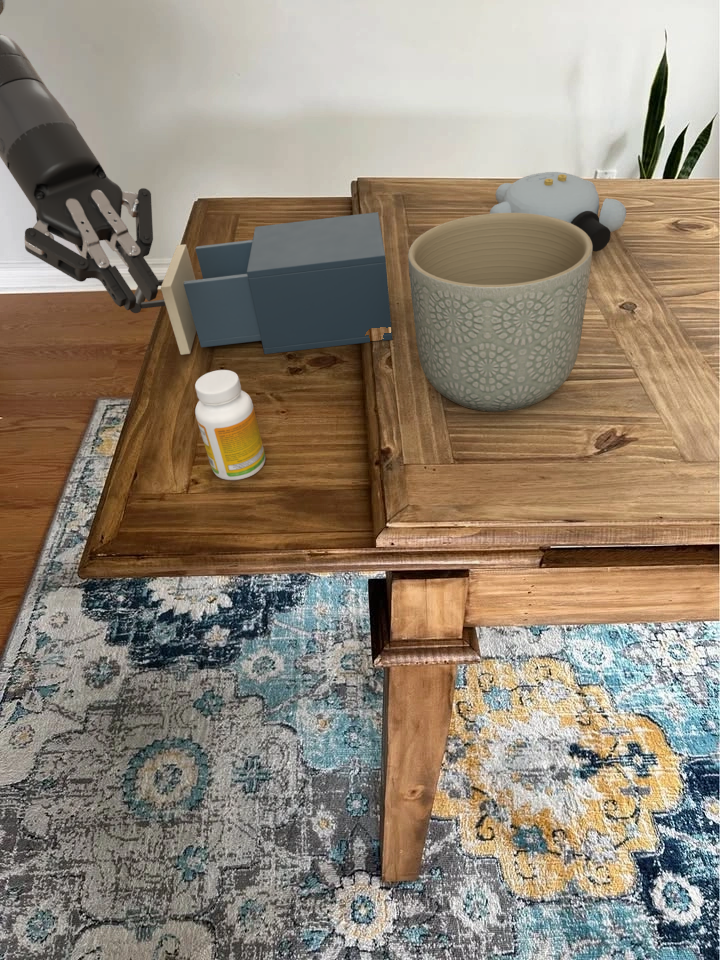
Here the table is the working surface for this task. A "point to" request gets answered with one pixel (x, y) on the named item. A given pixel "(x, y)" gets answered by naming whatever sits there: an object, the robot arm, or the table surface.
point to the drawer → (208, 296)
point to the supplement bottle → (228, 426)
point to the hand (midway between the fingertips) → (142, 300)
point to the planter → (499, 307)
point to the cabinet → (319, 282)
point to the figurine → (563, 203)
